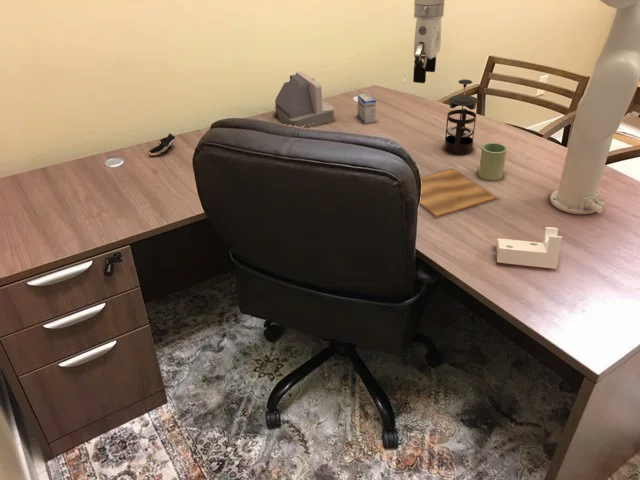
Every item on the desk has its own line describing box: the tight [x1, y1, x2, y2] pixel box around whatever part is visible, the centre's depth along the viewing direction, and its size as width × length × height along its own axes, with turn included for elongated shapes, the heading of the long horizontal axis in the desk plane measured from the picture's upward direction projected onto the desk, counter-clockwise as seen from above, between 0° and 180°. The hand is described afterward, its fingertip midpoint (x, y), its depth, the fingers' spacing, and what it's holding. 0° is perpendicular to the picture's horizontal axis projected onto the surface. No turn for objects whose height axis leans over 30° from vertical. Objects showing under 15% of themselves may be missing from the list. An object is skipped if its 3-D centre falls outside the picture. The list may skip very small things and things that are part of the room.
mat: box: [419, 168, 497, 218], centre depth 155 cm, size 20×20×1 cm
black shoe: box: [148, 132, 177, 157], centre depth 187 cm, size 11×4×7 cm
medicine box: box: [357, 93, 377, 124], centre depth 200 cm, size 8×4×9 cm, turn 17°
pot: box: [478, 142, 508, 181], centre depth 159 cm, size 7×7×9 cm
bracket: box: [495, 226, 563, 270], centre depth 125 cm, size 13×7×8 cm, turn 76°
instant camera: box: [274, 71, 335, 129], centre depth 203 cm, size 21×21×15 cm
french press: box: [443, 78, 479, 156], centre depth 172 cm, size 12×9×23 cm
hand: (424, 76), depth 146 cm, fingers open, 9 cm apart
